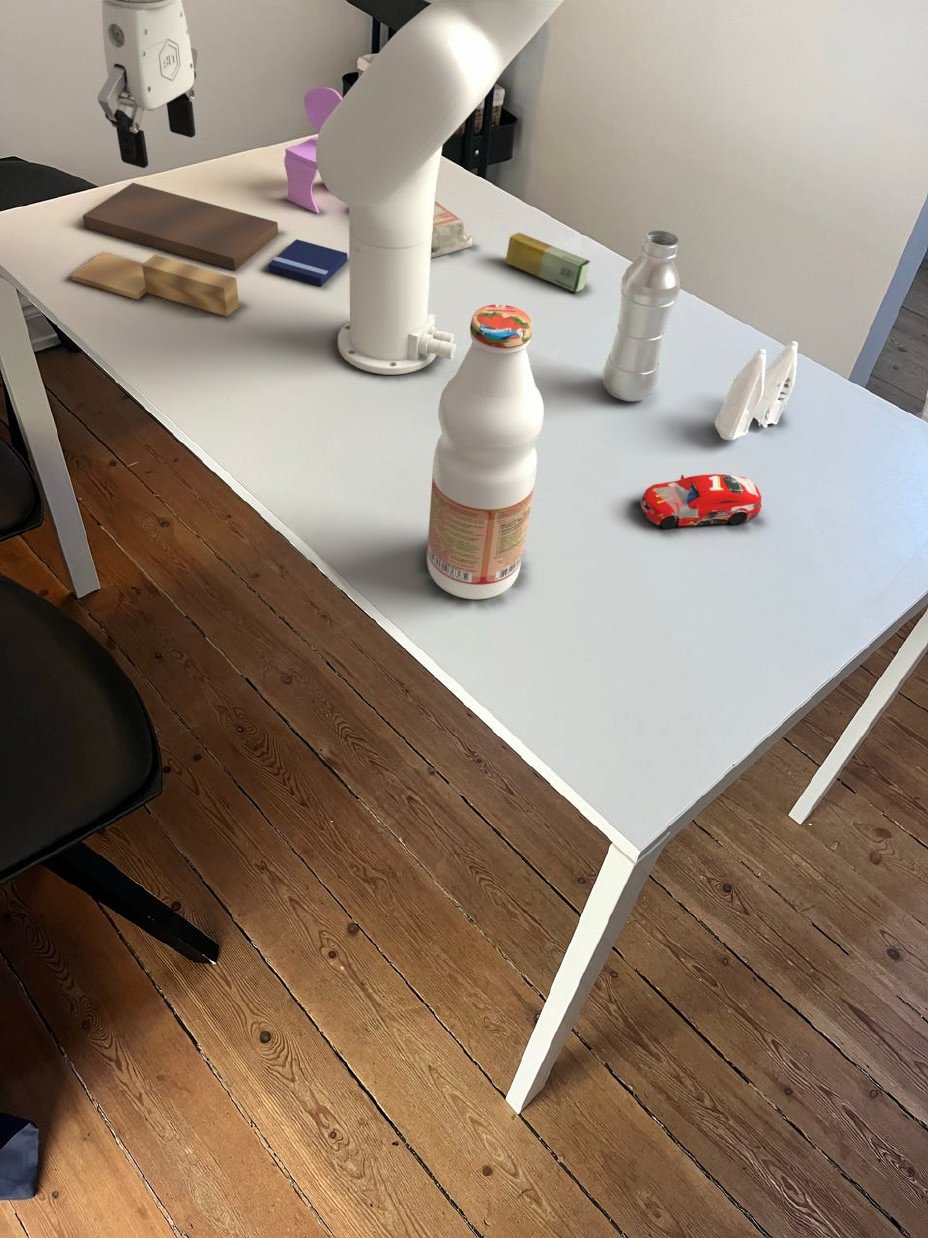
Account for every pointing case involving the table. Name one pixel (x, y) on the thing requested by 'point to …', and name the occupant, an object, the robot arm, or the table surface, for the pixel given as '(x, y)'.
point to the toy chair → (308, 148)
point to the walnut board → (182, 225)
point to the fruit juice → (485, 459)
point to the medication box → (547, 262)
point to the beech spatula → (162, 281)
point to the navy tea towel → (308, 262)
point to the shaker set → (758, 393)
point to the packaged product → (447, 233)
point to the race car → (702, 501)
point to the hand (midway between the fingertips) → (159, 148)
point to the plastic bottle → (643, 318)
